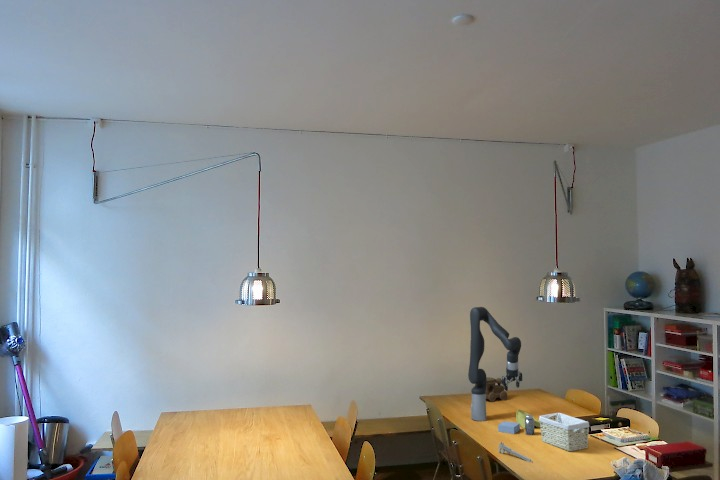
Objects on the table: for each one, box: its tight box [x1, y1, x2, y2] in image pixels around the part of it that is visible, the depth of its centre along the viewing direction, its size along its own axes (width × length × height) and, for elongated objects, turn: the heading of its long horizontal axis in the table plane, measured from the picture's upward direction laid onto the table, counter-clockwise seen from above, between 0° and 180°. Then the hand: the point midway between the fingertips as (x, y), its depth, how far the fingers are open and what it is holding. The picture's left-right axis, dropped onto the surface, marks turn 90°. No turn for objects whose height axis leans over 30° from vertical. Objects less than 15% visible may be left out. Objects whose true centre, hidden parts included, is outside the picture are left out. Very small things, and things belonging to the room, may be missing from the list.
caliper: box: [498, 441, 534, 463], centre depth 284 cm, size 20×1×6 cm, turn 40°
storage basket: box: [538, 412, 590, 452], centre depth 302 cm, size 24×16×15 cm
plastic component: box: [515, 409, 541, 429], centre depth 343 cm, size 20×7×10 cm
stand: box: [497, 420, 521, 435], centre depth 331 cm, size 10×10×4 cm
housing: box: [524, 414, 535, 436], centre depth 323 cm, size 5×5×11 cm
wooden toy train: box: [485, 376, 509, 403], centre depth 410 cm, size 20×11×17 cm, turn 112°
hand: (511, 388), depth 347 cm, fingers open, 8 cm apart
